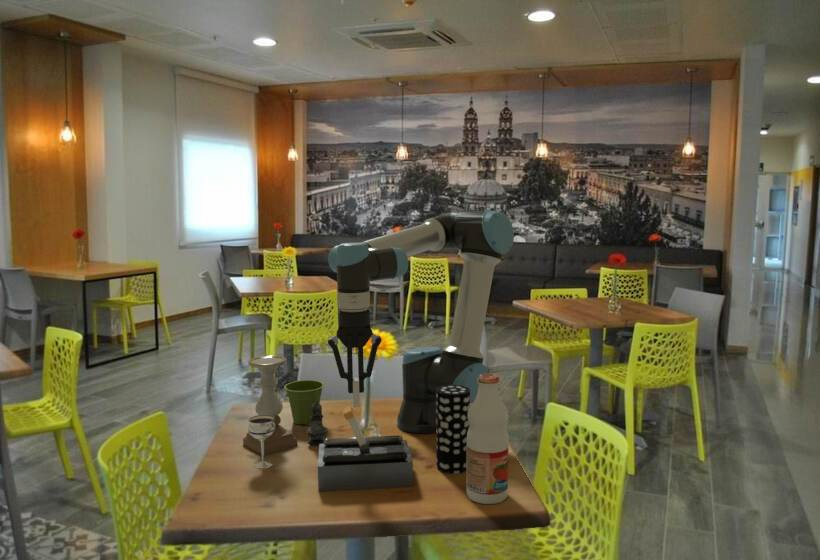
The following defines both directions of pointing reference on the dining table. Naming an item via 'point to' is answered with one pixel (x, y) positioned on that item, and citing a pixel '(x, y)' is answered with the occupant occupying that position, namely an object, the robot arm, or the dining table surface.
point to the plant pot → (303, 399)
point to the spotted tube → (452, 428)
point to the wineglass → (262, 434)
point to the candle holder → (269, 407)
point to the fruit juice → (487, 444)
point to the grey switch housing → (364, 464)
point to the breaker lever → (356, 430)
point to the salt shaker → (316, 426)
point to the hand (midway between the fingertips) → (356, 405)
